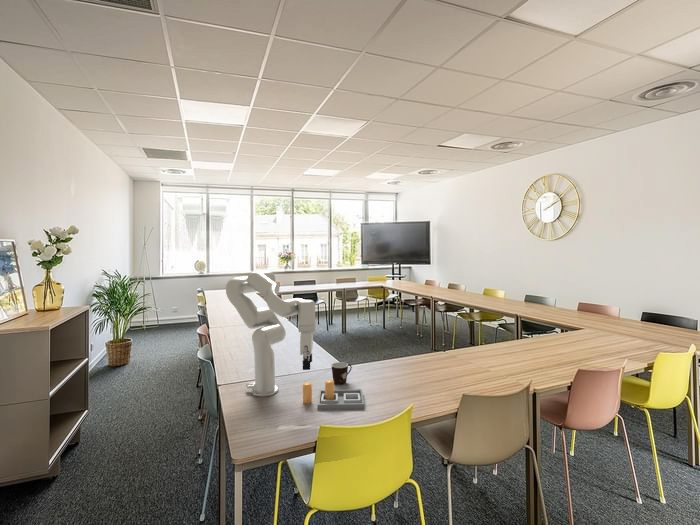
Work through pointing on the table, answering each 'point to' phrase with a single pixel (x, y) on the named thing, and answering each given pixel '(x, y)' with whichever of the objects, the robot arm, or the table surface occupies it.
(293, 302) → the robot arm
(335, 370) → the coffee mug
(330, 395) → the pin
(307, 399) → the pin
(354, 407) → the grey pin holder tray
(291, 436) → the table surface
